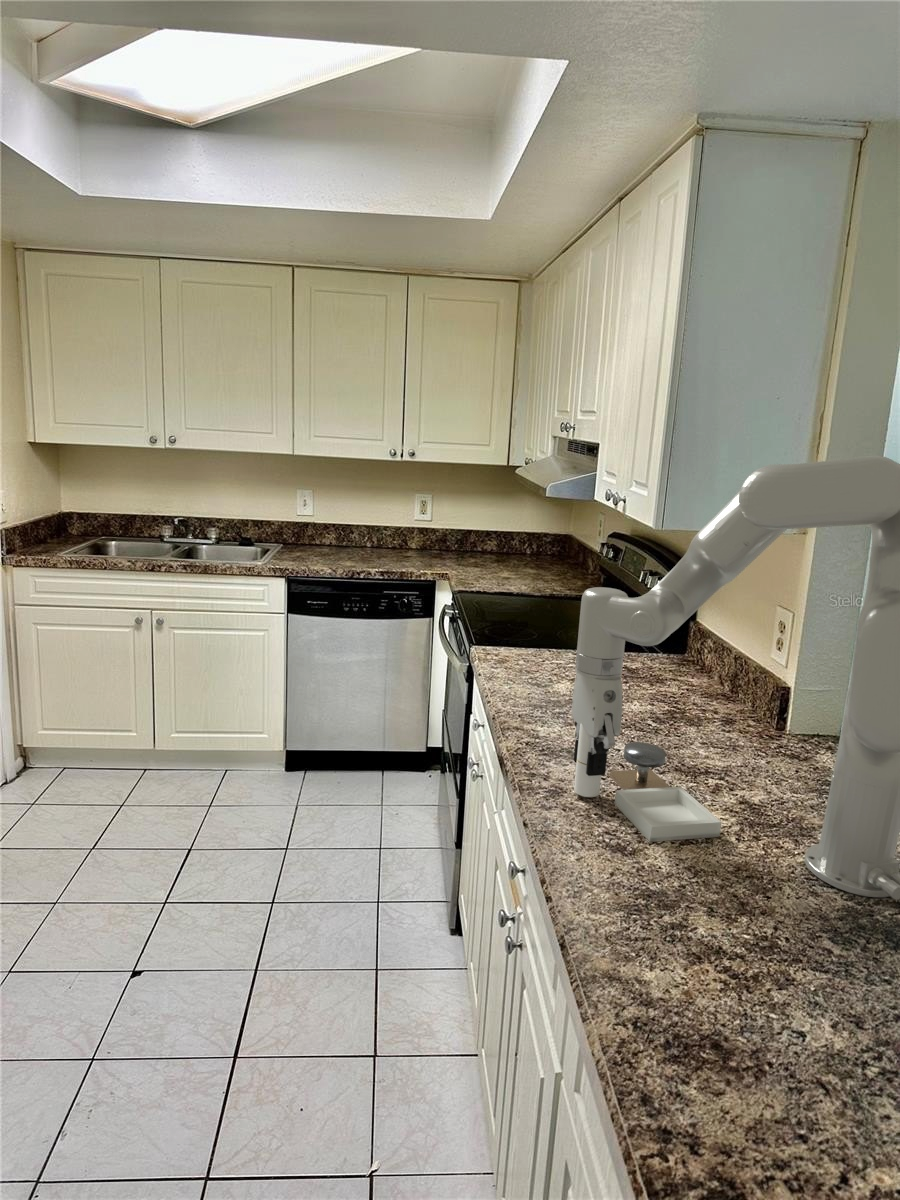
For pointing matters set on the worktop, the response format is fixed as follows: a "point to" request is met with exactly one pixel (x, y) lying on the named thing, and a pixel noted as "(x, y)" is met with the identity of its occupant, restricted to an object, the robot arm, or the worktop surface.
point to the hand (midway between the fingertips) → (589, 767)
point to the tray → (667, 814)
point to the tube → (585, 767)
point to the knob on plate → (641, 767)
